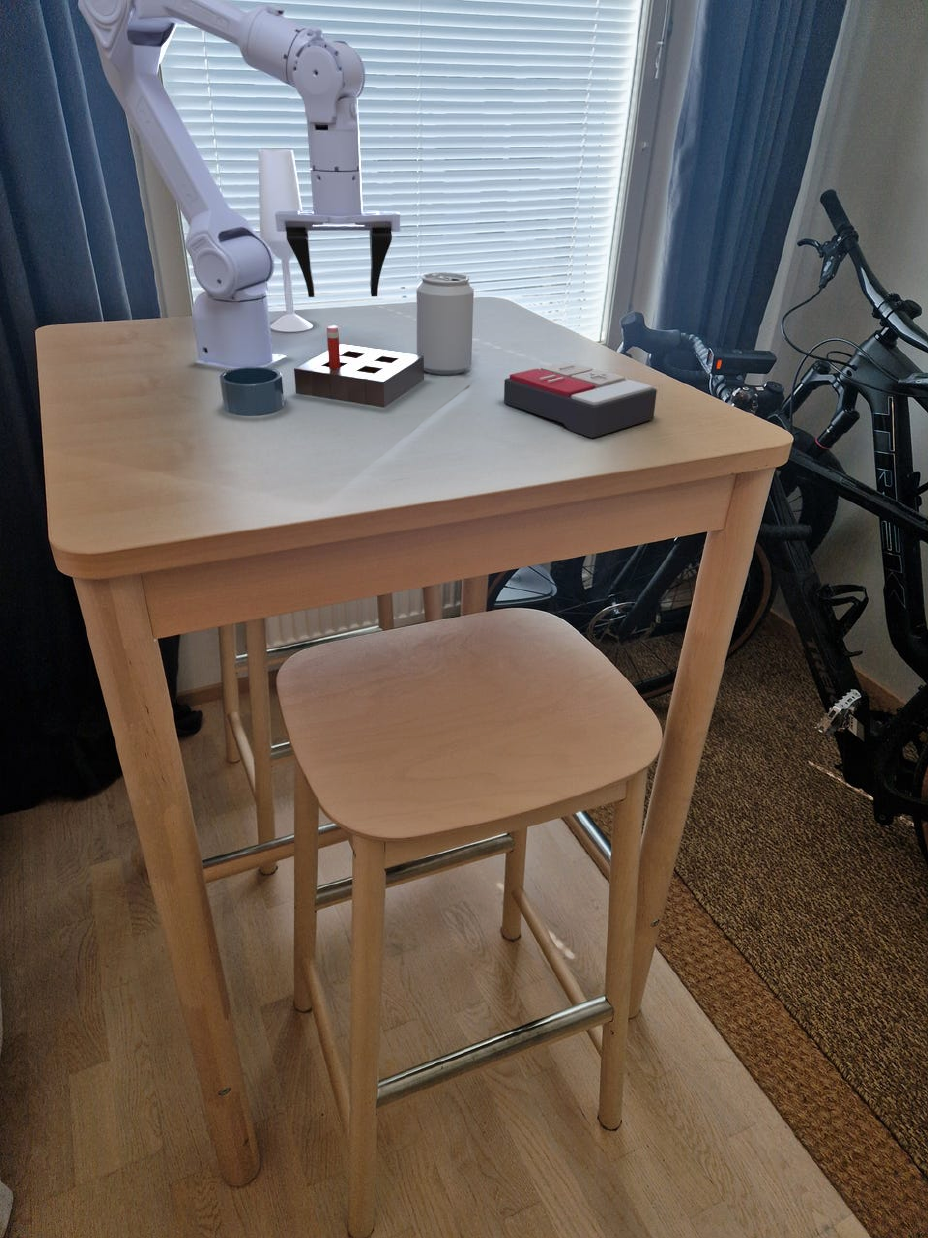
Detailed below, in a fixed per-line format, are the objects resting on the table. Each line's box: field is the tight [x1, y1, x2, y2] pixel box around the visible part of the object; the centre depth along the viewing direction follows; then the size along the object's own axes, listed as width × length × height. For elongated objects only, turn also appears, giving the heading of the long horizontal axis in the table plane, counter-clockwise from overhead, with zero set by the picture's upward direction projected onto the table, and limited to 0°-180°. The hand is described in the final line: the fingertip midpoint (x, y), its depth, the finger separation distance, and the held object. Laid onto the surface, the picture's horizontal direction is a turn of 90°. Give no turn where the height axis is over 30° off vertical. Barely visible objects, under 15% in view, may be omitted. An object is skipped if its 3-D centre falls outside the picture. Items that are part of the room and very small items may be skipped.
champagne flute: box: [258, 148, 314, 333], centre depth 119 cm, size 7×7×24 cm
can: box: [416, 271, 475, 376], centre depth 106 cm, size 8×8×12 cm
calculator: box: [503, 361, 658, 439], centre depth 96 cm, size 11×4×15 cm
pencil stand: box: [293, 343, 425, 409], centre depth 100 cm, size 12×12×4 cm
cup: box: [219, 367, 285, 417], centre depth 93 cm, size 7×7×4 cm
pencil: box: [326, 324, 341, 369], centre depth 98 cm, size 1×1×8 cm
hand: (342, 294), depth 99 cm, fingers open, 7 cm apart
